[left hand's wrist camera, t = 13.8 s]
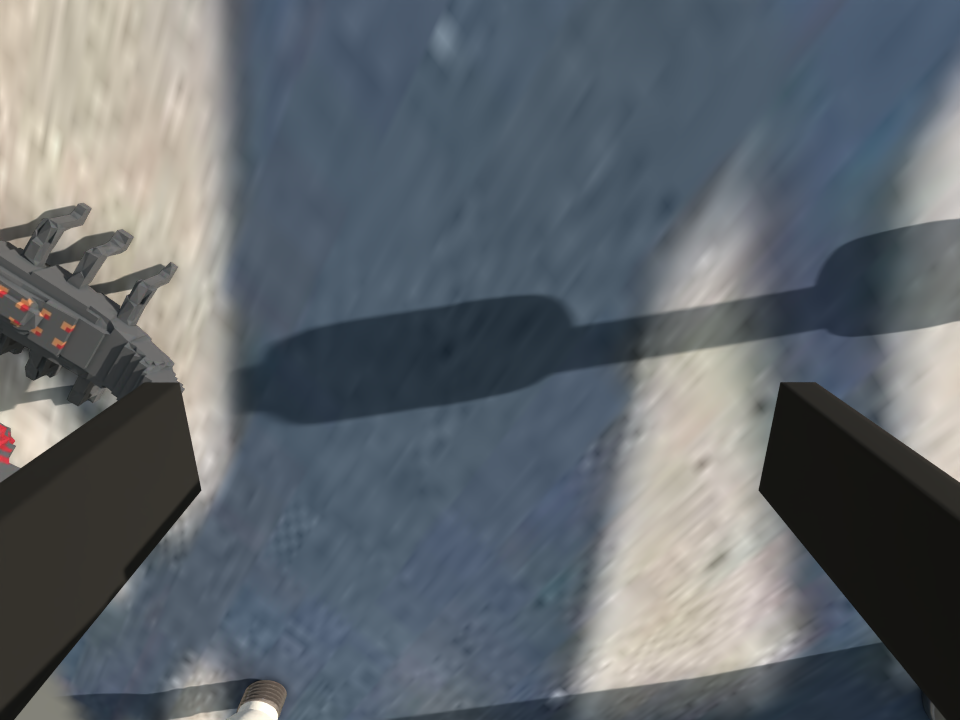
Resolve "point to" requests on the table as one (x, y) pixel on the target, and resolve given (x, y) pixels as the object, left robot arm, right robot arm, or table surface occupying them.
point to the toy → (75, 320)
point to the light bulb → (261, 701)
